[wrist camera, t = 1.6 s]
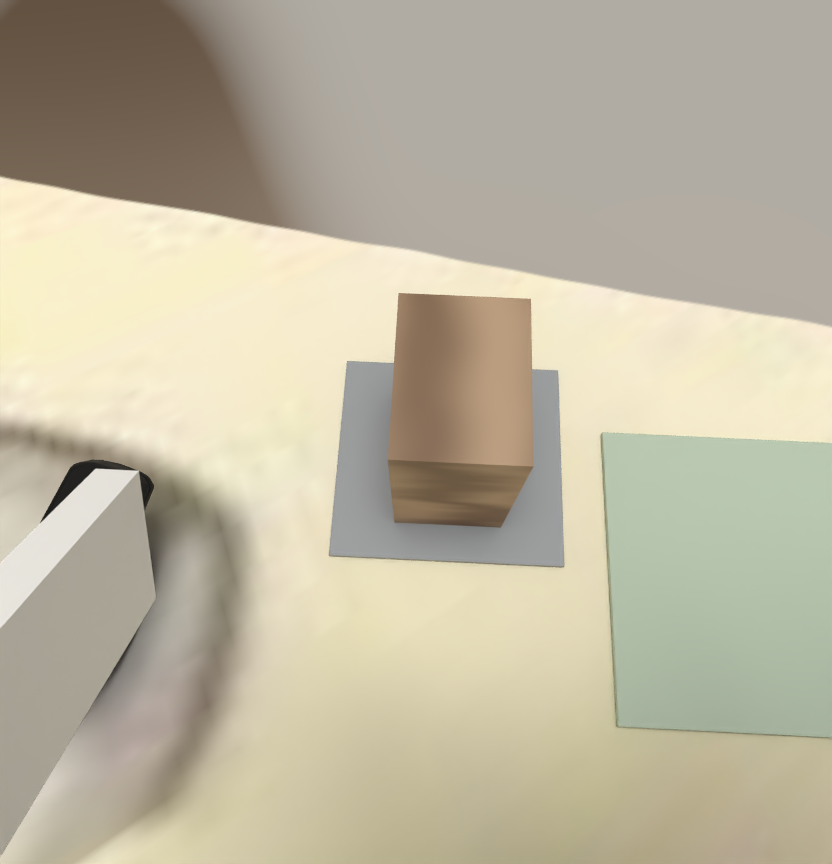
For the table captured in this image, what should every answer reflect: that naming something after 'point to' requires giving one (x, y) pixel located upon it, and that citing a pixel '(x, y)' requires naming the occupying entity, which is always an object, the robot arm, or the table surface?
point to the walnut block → (460, 409)
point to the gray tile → (382, 538)
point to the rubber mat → (720, 583)
